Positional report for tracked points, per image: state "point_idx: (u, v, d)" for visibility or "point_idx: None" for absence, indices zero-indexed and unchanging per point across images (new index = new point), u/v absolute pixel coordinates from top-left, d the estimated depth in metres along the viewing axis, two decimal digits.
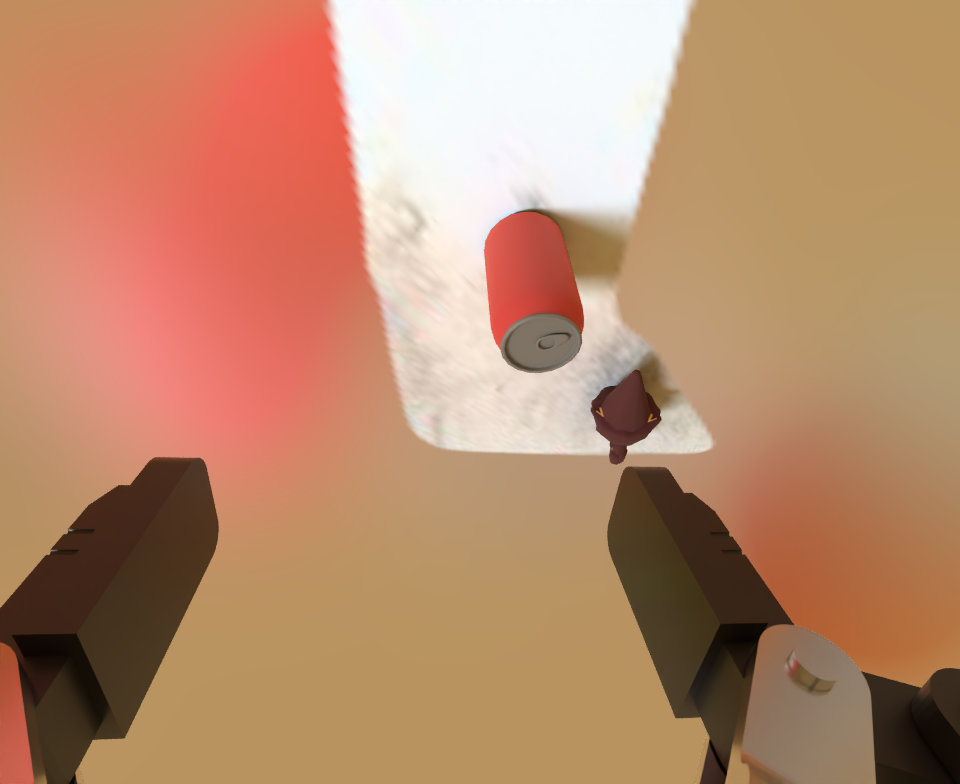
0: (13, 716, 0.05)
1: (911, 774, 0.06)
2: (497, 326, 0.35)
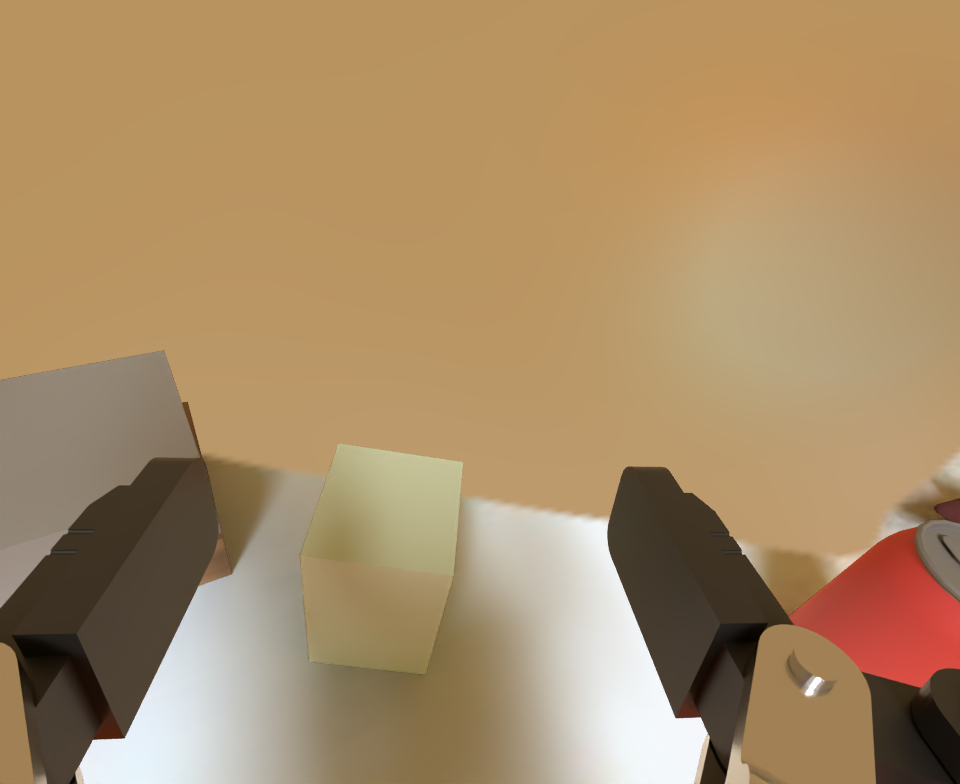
0: (13, 715, 0.05)
1: (911, 774, 0.06)
2: None
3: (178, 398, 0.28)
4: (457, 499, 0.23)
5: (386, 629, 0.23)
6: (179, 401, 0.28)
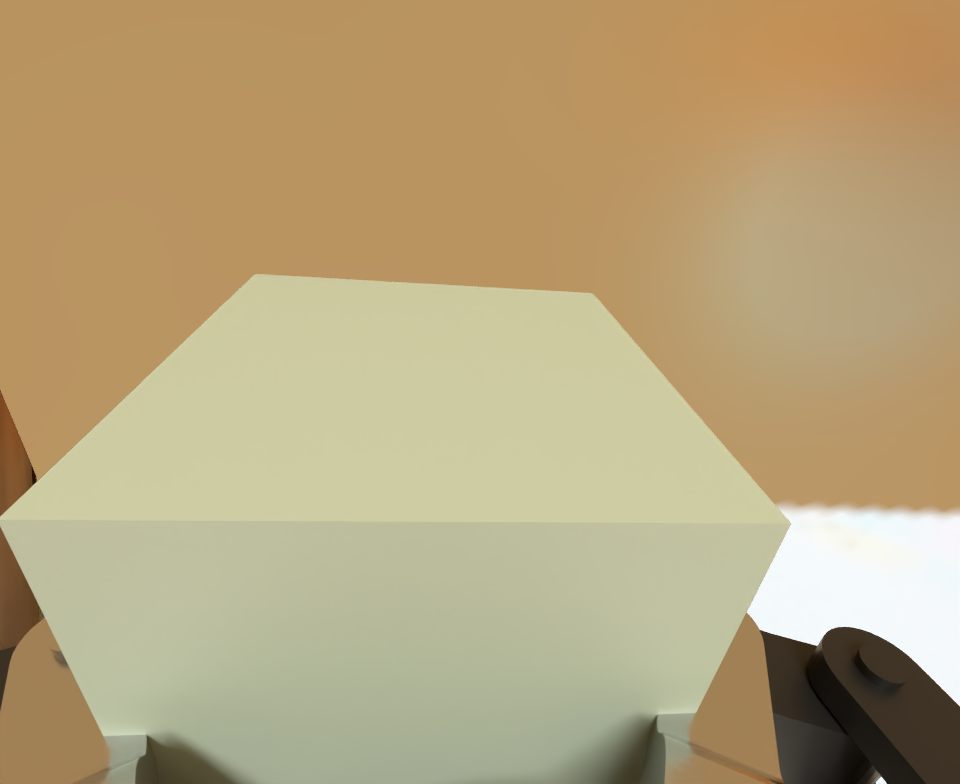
0: None
1: (798, 722, 0.06)
2: None
3: None
4: (627, 342, 0.07)
5: None
6: None
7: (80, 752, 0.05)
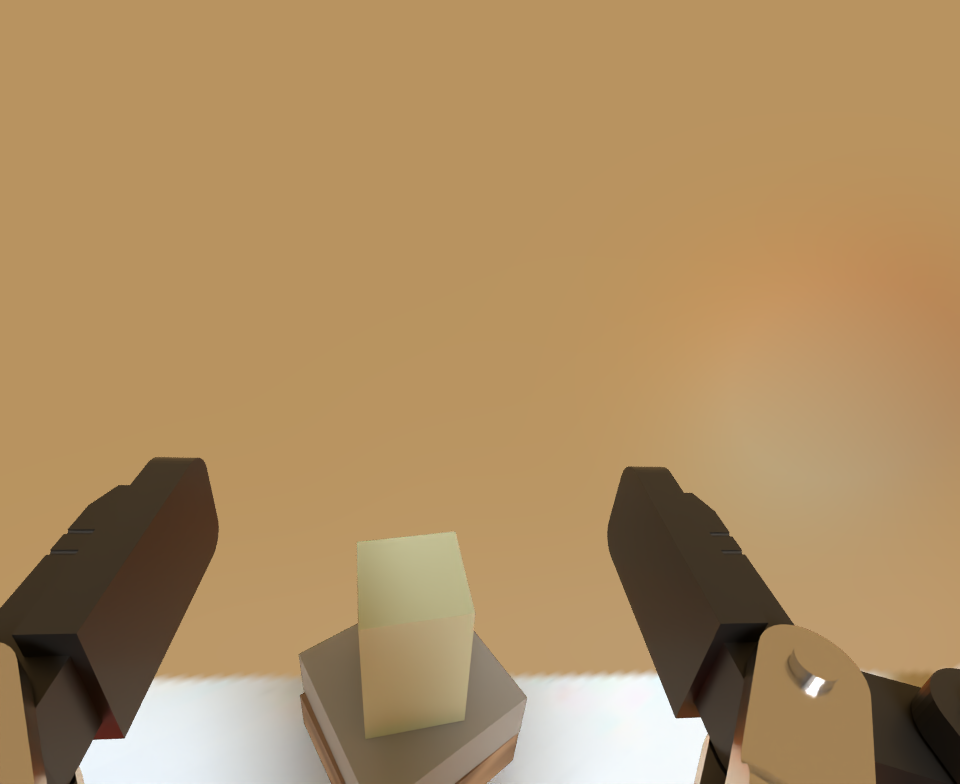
0: (14, 715, 0.05)
1: (911, 774, 0.06)
2: None
3: None
4: (460, 559, 0.30)
5: (428, 682, 0.29)
6: None
7: None
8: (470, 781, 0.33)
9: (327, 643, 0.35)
